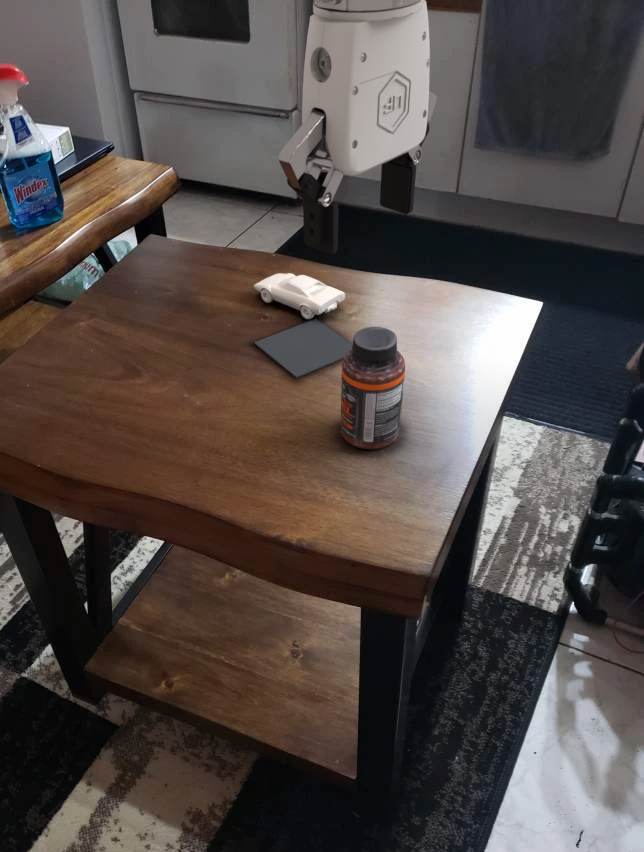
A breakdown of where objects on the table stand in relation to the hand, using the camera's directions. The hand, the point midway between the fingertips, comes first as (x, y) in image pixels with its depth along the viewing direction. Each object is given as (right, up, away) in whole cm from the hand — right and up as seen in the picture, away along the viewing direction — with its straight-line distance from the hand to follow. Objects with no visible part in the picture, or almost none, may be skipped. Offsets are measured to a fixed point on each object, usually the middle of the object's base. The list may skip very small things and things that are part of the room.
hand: (359, 228), depth 63 cm
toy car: (-4, +2, +33) cm, 33 cm away
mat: (-3, -5, +25) cm, 26 cm away
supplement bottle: (+3, -16, +13) cm, 21 cm away
